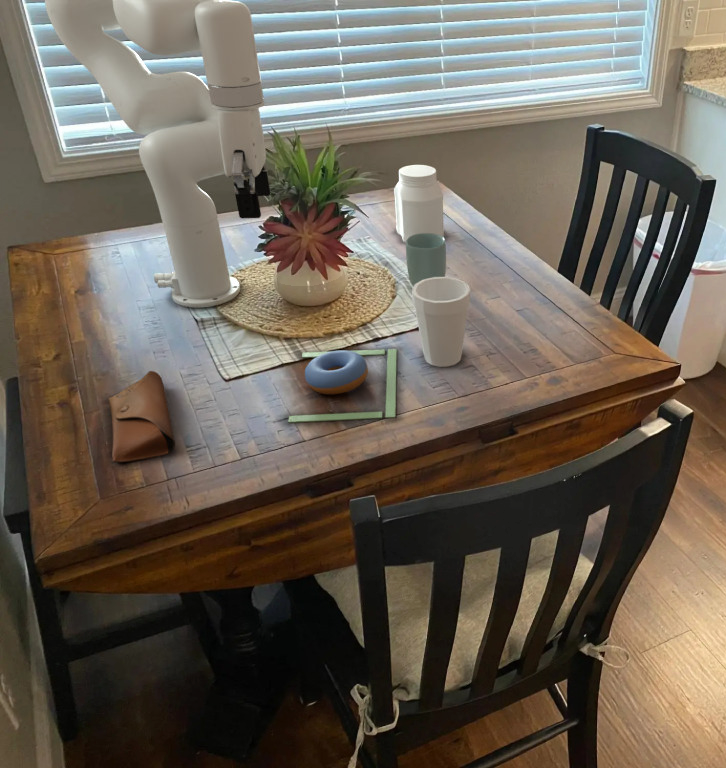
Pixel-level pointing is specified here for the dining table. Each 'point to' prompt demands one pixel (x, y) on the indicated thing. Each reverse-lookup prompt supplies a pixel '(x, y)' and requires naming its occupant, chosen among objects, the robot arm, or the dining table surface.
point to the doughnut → (336, 372)
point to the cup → (425, 256)
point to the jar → (418, 202)
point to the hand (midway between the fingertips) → (255, 206)
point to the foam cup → (441, 318)
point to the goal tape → (364, 415)
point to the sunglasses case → (141, 421)
